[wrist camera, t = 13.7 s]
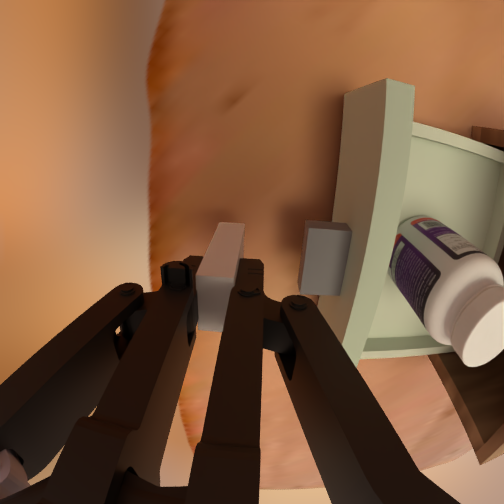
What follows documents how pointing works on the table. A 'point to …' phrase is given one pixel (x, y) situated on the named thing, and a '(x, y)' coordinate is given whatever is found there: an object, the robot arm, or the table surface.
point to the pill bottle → (450, 288)
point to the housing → (478, 371)
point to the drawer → (394, 217)
